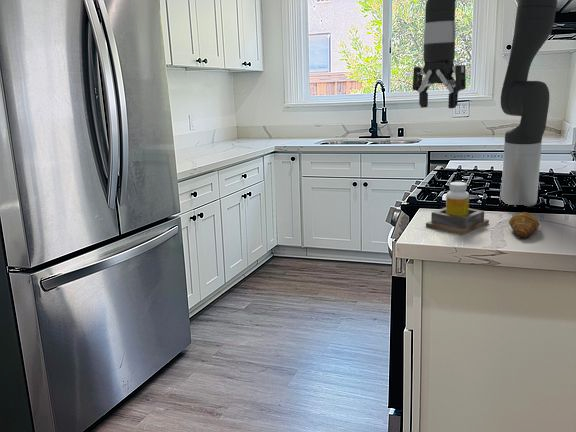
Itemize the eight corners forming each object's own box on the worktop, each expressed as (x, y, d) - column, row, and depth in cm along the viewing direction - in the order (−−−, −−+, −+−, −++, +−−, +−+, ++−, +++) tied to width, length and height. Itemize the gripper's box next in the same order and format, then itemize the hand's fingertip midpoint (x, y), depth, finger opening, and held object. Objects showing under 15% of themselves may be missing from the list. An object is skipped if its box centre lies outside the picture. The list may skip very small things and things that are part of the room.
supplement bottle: (469, 224, 126) (471, 185, 123) (446, 224, 127) (447, 186, 124) (466, 218, 131) (468, 180, 128) (444, 217, 132) (445, 181, 129)
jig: (453, 216, 137) (454, 203, 136) (488, 223, 129) (489, 210, 128) (425, 226, 129) (426, 213, 128) (460, 235, 122) (461, 221, 121)
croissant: (510, 222, 130) (511, 203, 128) (540, 224, 127) (541, 205, 125) (505, 239, 118) (506, 218, 117) (538, 242, 115) (540, 221, 114)
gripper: (473, 39, 125) (470, 107, 130) (424, 43, 136) (423, 105, 141) (455, 39, 121) (453, 110, 125) (406, 43, 132) (406, 108, 136)
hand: (437, 107), depth 133 cm, fingers open, 8 cm apart
